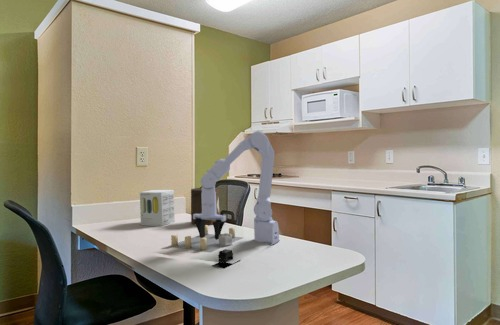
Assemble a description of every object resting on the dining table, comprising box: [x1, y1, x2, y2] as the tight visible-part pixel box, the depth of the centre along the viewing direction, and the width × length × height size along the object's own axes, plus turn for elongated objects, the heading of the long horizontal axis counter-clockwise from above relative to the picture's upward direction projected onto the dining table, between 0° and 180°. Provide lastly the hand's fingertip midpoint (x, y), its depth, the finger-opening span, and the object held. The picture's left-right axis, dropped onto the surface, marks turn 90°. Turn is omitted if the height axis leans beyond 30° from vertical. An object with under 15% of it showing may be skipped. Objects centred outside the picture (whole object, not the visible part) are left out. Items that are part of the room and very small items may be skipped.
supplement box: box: [139, 189, 176, 227], centre depth 187 cm, size 13×13×18 cm
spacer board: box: [167, 225, 244, 253], centre depth 139 cm, size 20×24×5 cm
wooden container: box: [190, 185, 220, 226], centre depth 185 cm, size 15×15×22 cm
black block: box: [211, 248, 242, 270], centre depth 114 cm, size 12×7×5 cm, turn 148°
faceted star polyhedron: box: [219, 232, 233, 247], centre depth 135 cm, size 6×5×4 cm
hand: (209, 238), depth 138 cm, fingers open, 7 cm apart
